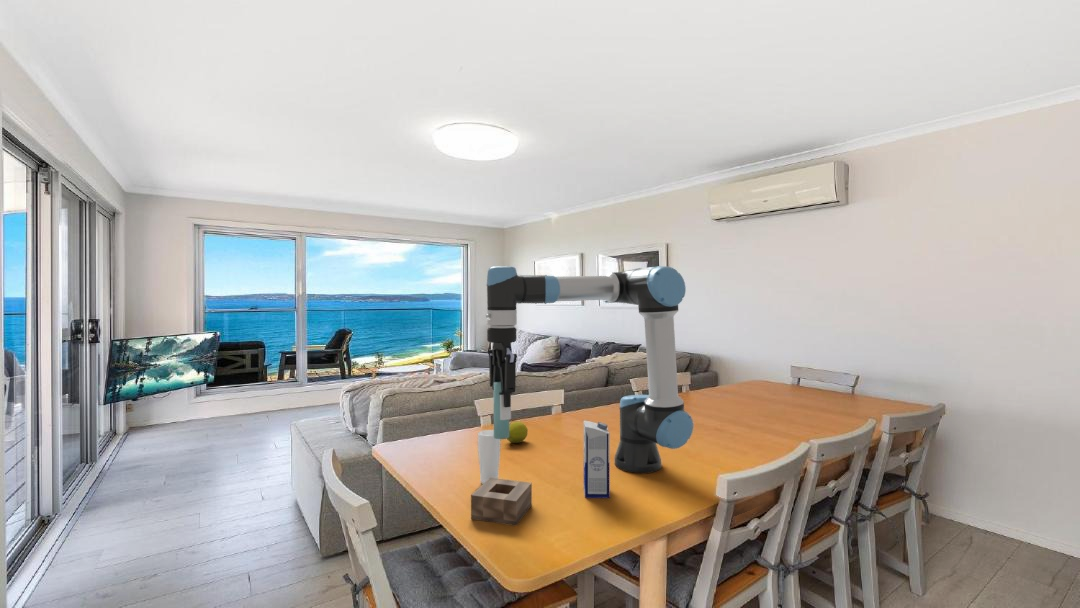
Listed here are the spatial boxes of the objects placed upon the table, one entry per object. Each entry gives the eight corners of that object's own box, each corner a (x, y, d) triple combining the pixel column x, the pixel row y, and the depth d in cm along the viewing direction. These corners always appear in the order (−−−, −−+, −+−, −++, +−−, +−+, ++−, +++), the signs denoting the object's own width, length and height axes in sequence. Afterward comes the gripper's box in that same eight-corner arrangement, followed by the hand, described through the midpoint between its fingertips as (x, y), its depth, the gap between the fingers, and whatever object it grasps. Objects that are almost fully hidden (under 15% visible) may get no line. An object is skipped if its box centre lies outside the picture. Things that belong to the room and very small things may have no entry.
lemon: (520, 437, 188) (520, 417, 188) (533, 442, 182) (533, 421, 182) (498, 443, 181) (498, 422, 181) (511, 448, 175) (511, 426, 175)
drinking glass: (491, 488, 138) (491, 437, 138) (473, 483, 141) (473, 433, 141) (505, 481, 144) (505, 431, 143) (487, 476, 147) (487, 428, 147)
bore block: (531, 505, 127) (531, 482, 127) (516, 525, 115) (516, 501, 115) (490, 499, 130) (490, 477, 130) (471, 518, 119) (471, 495, 119)
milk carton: (583, 487, 138) (583, 419, 138) (606, 487, 138) (606, 419, 138) (585, 498, 131) (585, 425, 131) (609, 498, 131) (609, 426, 131)
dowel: (511, 435, 124) (511, 381, 124) (505, 439, 120) (505, 384, 120) (497, 434, 125) (497, 381, 125) (491, 438, 121) (491, 383, 121)
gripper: (476, 325, 128) (477, 412, 128) (501, 329, 113) (501, 427, 113) (502, 324, 131) (502, 409, 132) (529, 328, 117) (529, 423, 117)
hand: (502, 417), depth 123 cm, fingers closed on dowel, 4 cm apart
